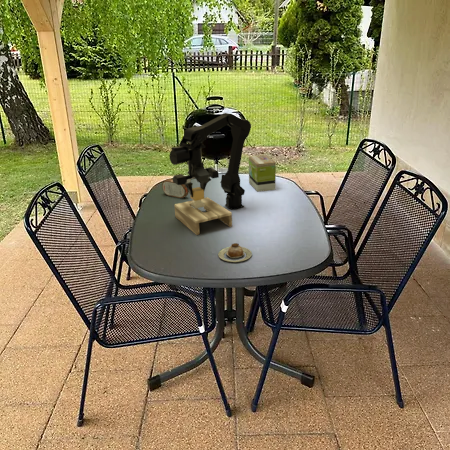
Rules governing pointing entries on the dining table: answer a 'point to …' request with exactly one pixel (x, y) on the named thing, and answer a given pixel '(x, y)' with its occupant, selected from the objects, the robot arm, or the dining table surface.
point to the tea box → (262, 173)
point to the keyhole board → (201, 214)
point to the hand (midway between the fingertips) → (197, 195)
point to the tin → (174, 189)
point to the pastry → (235, 253)
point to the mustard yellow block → (197, 197)
